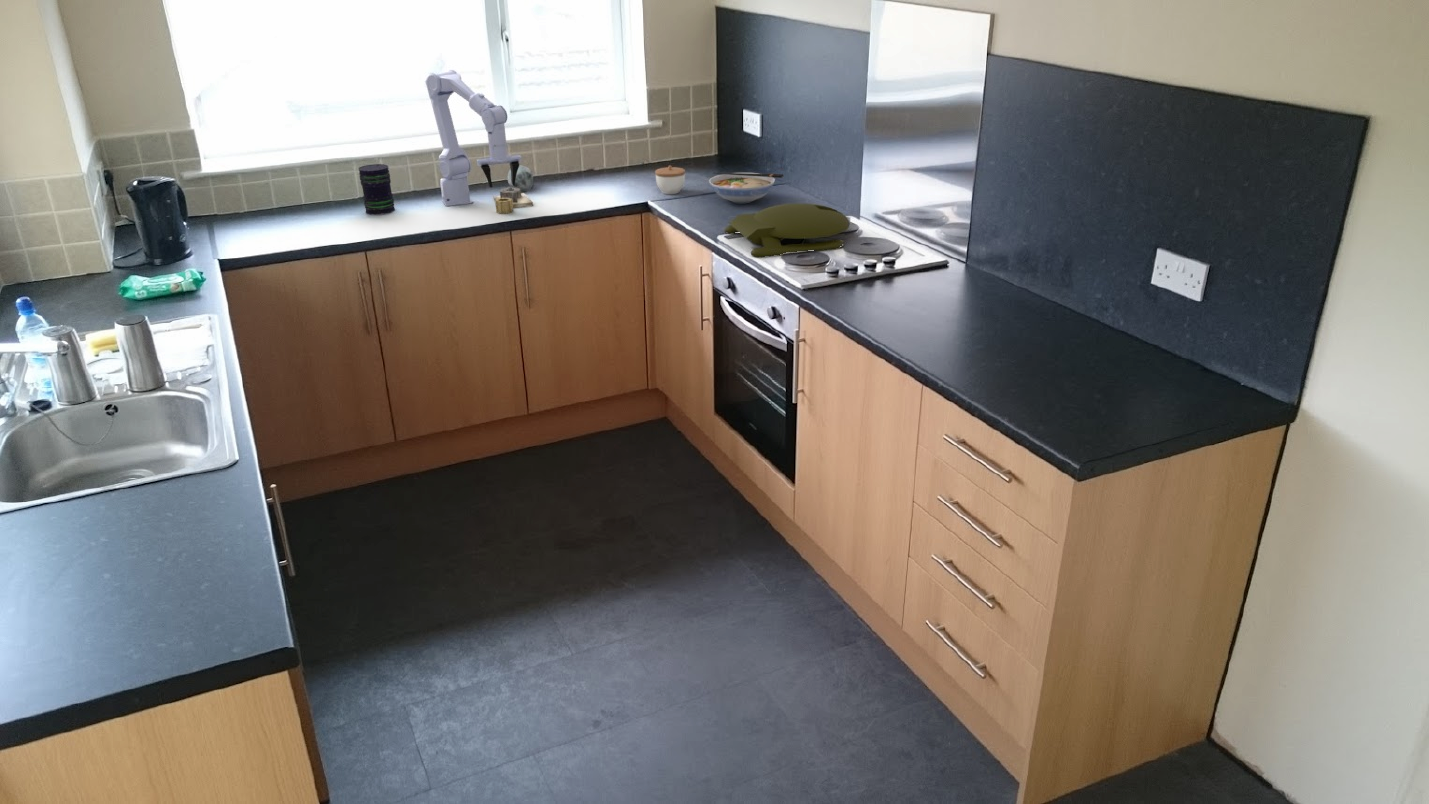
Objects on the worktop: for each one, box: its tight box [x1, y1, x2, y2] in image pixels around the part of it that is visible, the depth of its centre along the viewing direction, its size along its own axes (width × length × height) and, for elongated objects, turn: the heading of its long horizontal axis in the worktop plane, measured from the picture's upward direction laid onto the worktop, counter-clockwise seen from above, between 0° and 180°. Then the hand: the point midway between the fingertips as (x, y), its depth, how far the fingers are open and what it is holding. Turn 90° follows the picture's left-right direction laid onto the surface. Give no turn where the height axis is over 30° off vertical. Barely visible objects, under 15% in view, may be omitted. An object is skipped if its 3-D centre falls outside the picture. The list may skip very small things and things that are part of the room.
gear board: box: [492, 186, 534, 209], centre depth 359 cm, size 11×14×4 cm
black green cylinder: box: [358, 163, 396, 216], centre depth 350 cm, size 10×10×15 cm
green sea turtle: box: [724, 202, 851, 258], centre depth 313 cm, size 35×31×10 cm
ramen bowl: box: [708, 172, 784, 205], centre depth 354 cm, size 25×23×8 cm
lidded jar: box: [654, 165, 686, 195], centre depth 368 cm, size 11×11×9 cm
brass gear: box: [494, 198, 514, 215], centre depth 349 cm, size 6×6×4 cm
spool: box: [507, 164, 534, 192], centre depth 377 cm, size 14×10×10 cm
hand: (502, 185), depth 346 cm, fingers open, 7 cm apart
